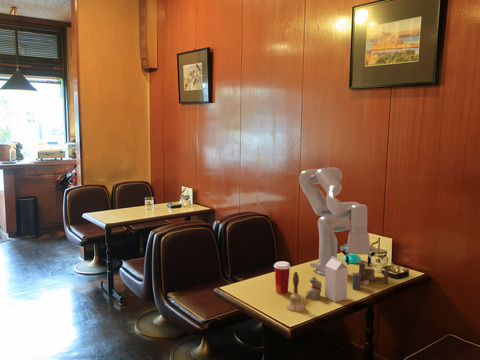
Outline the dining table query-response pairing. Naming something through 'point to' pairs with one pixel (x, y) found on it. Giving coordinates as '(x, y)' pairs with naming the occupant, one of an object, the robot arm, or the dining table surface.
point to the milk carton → (336, 280)
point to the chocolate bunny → (314, 289)
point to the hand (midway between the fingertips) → (358, 264)
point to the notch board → (372, 279)
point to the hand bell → (295, 297)
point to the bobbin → (362, 272)
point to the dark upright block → (356, 280)
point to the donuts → (352, 257)
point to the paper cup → (282, 277)
